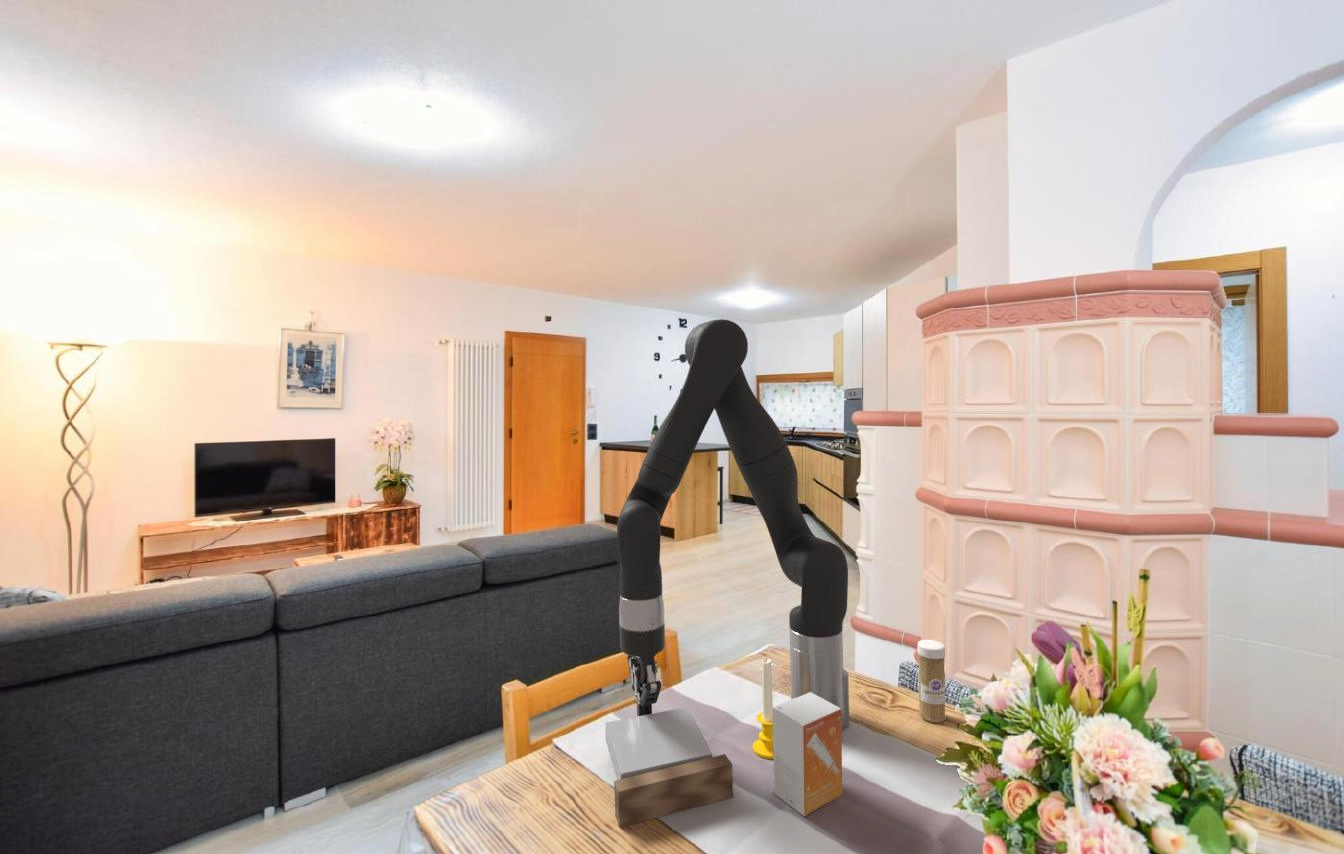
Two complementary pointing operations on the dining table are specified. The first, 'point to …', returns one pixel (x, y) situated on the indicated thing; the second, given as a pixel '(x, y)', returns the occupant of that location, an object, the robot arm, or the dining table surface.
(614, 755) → the slab
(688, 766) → the rail
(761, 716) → the candle
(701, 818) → the dining table surface
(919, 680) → the sprinkles bottle
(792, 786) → the small box
